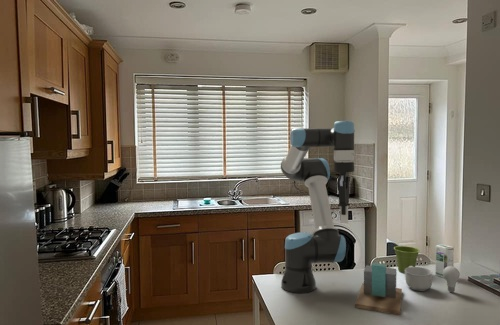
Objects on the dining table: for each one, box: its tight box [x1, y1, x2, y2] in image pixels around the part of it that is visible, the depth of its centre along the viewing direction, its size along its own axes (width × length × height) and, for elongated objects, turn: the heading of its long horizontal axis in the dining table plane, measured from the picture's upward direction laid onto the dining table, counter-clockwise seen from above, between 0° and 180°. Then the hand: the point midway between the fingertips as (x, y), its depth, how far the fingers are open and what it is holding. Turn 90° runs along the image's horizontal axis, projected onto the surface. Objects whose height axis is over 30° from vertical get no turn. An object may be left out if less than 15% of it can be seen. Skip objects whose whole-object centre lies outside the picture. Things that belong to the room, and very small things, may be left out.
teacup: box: [404, 266, 433, 292], centre depth 157 cm, size 14×11×8 cm
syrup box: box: [434, 244, 455, 279], centre depth 170 cm, size 6×6×14 cm
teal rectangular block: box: [371, 262, 387, 297], centre depth 146 cm, size 5×14×12 cm, turn 156°
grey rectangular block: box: [363, 265, 397, 299], centre depth 147 cm, size 12×8×10 cm, turn 66°
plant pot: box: [393, 245, 420, 274], centre depth 177 cm, size 12×12×11 cm
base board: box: [354, 282, 403, 316], centre depth 144 cm, size 16×23×2 cm
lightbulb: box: [443, 266, 461, 293], centre depth 151 cm, size 6×6×11 cm
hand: (344, 222), depth 138 cm, fingers closed
